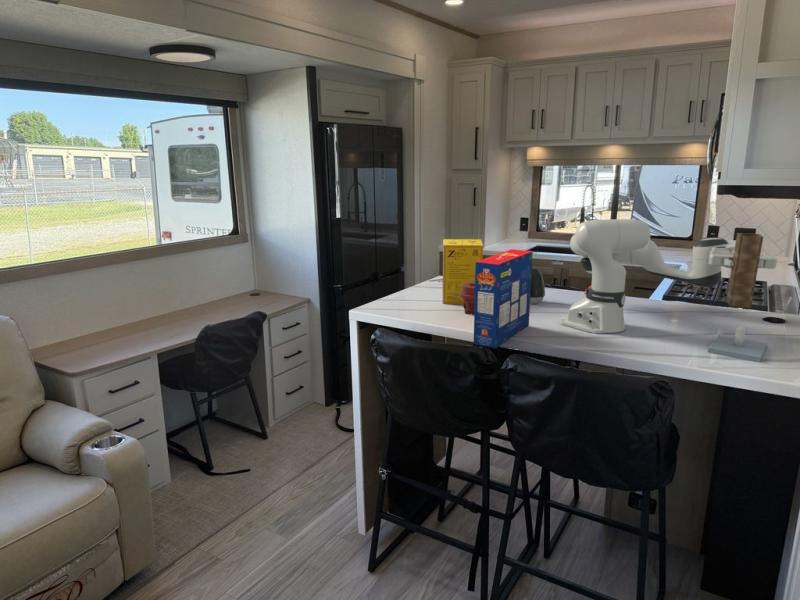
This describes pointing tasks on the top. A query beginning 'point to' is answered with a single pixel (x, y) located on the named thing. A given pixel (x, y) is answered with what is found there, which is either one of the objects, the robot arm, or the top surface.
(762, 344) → the base plate
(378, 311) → the top surface
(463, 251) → the packaging box
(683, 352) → the top surface
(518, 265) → the blue food box
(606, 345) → the top surface
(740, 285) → the walnut sleeve
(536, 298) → the dark gray domed cylinder
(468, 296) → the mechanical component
